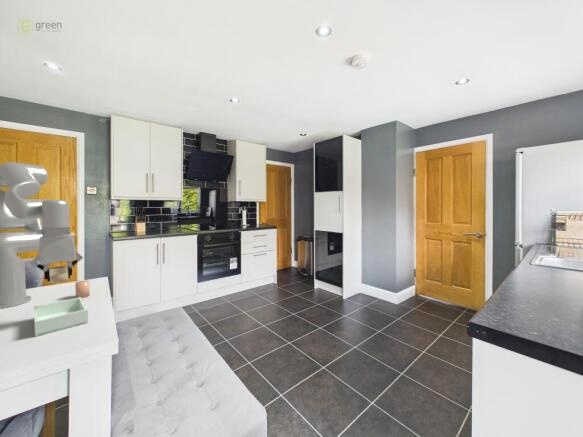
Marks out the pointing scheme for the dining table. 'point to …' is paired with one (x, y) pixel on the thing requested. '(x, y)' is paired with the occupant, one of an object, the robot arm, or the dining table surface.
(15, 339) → the dining table surface
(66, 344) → the dining table surface
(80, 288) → the terracotta cylinder
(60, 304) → the tote
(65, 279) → the wooden cube
